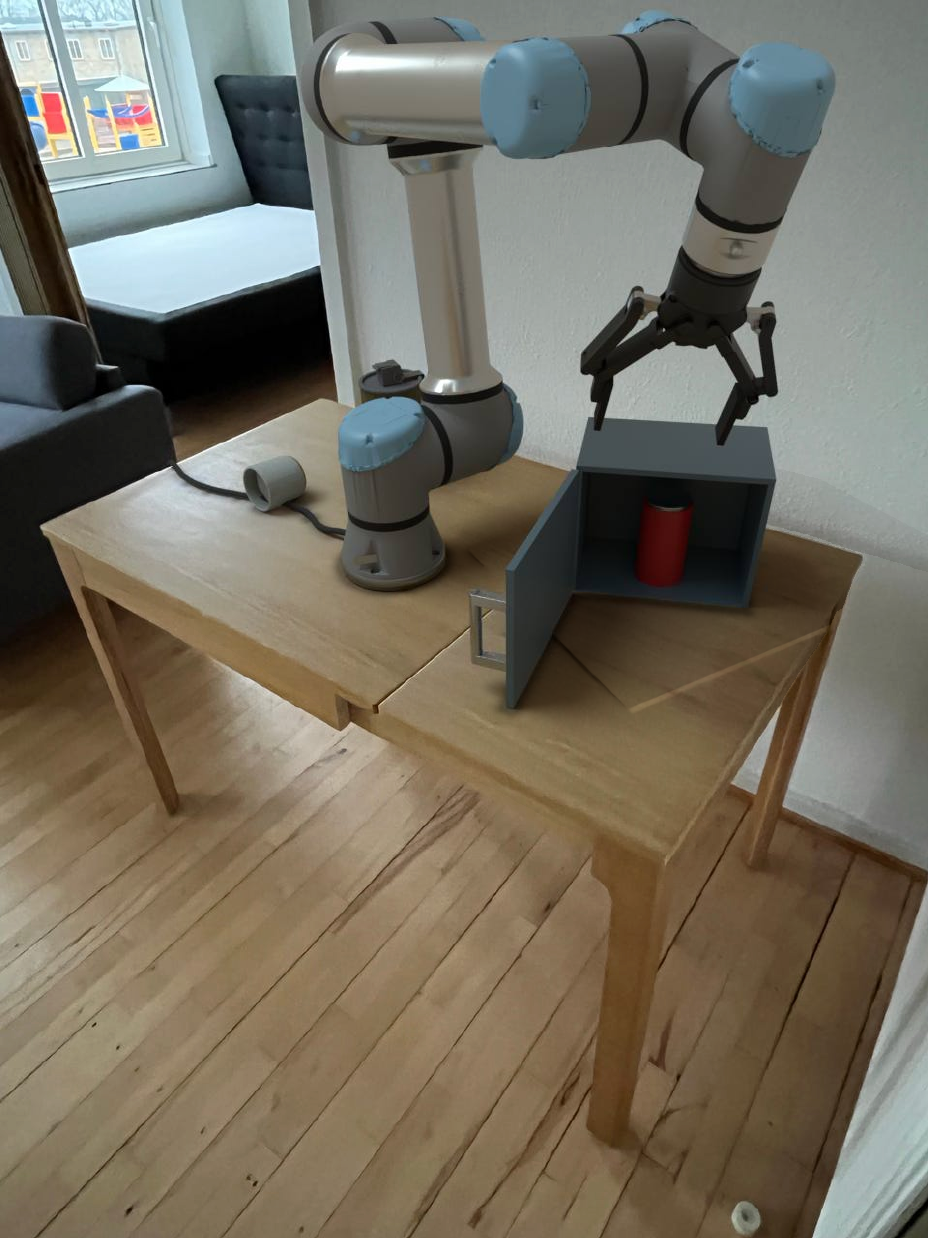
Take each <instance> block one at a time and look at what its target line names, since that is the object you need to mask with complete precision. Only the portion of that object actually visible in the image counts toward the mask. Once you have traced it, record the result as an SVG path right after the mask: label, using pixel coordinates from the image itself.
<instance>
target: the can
mask: <svg viewBox="0 0 928 1238" xmlns="http://www.w3.org/2000/svg"><path fill="white" fill-rule="evenodd" d="M693 506H694V501H693V499H692V497H691V495H690V494H689V493H688V492H687V491H685V490H683V489H680V488H676V487H670V486H662V487H656V488H653V489H650V490H649V491H648V492H647V493H646V495H645V496H644V497H643V501H642V510H641V519H640V528H639V537H638V546H637V554H636V563H635V576H636V578H637V579H638V580H639V581H641V582H642V583H644V584H647V585H650V586H654V587H669V586H673V585H676V584H677V583H679V582H680V581H681V579H682V577H683V570H684V564H685V557H686V551H687V545H688V538H689V532H690V525H691V519H692V513H693Z"/></svg>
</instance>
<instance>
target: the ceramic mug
mask: <svg viewBox="0 0 928 1238" xmlns="http://www.w3.org/2000/svg"><path fill="white" fill-rule="evenodd" d="M242 474H243V475H242V481H243V482H242V483H243V484H242V485H243V486H244V491H245V493H247V495H248V497H249V499H248V500H250V502H251V503H252V505H253V506H254V507H255V509H258V511H261V512H269V511H271V510H273V509H276V508H277V507H280V506H281V505H282V504H283V503H285V502H286V501H289V502H291V501H292V500H294V499H297V498H298V497H300V496H301V495H303V494H304V493H305V492H306V488H307V477H306V473H305V470H304V468H303V467H302V465H301V463H300V462H299V461H298V460H297V459H296V458H295V457H293V456H291V455H280V456H277V457H274V458H273V457H272V458H271V459H267V460H264V461H261V462H258V463H255V464H251V465H248V466H246V467H245V468H244V470H243V473H242ZM260 496H264V497H265V498H266V499H267V501H268V502H266V501H264V500H262V499H261V498H260Z"/></svg>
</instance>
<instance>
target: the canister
mask: <svg viewBox="0 0 928 1238" xmlns="http://www.w3.org/2000/svg"><path fill="white" fill-rule="evenodd" d="M371 368H372V369H373V370H372V371H370V372H367V373H365V374H363V375H361V377H360V378H359V379H358V381H357V385H358V387H359V389H360V390H359V391H360V400H361V405H362V404H364V403H366V402H369V401H372V400H375V399H380V398H386V399H390V398H392V397H405V398H410V399H412V400H414V401H416V402H418V403H419V404H421V394H420V387H419V385H420V383H421V381H422V380H423V379H424V378H425V376H426V375H425V373H423V371H421V370H420V369H417V370H416V369H415V370H411V369H408V368H402V366H401V365H400V364H399V363H398V362H397V361H396V360H395V359H394V358H393V359H387V360H385V361H381V362H376V363H374V364H372V366H371Z"/></svg>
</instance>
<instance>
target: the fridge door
mask: <svg viewBox="0 0 928 1238" xmlns="http://www.w3.org/2000/svg"><path fill="white" fill-rule="evenodd" d="M578 483H579V470H576V468H575V469H574V468H573V469H571V470H570V471H569V473H568V474H567V475H566V477H565V478H564V480H563V482H562V483H561V484H560V486H559V487H558V489H557V491H556V492H555V493H554V495H553V497H552V498H551V500H550V501H549V503H548V504H547V505H546V507H545V508H544V510H543V512H542V513H541V515H540V516H539V518H538V519H537V521H536V522H535V523H534V525H533V526H532V528H531V530H530V532H529V533H528V534H527V536H526V537H525V539H524V540H523V542H522V543H521V545H520V546H519V548H518V550H517V551H516V552H515V554H514V555H513V557H512V558H511V560H510V561H509V563H508V564H507V566H506V567H505V593H500V592H495V591H490V590H486V589H480V588H476V587H474V588H470V589H469V590H468V617H469V640H470V642H469V643H470V644H469V645H470V662H471V664H472V665H476V666H479V667H484V668H487V669H491V670H495V671H500V672H504V673H505V707H506V708H510V709H515V707H516V705H517V703H518V701H519V700H520V698H521V696H522V694H523V692H524V690H525V688H526V686H527V684H528V682H529V680H530V678H531V676H532V675H533V673H534V671H535V669H536V667H537V665H538V664H539V662H540V659H541V657H542V655H543V653H544V652H545V649H546V648H547V646H548V644H549V642H550V641H551V638H552V636H553V635H554V633H553V631H554V630H555V628H556V626H557V624H558V622H559V620H560V618H561V616H562V615H563V612H564V611H565V609H566V607H567V605H568V603H569V601H570V600H571V597H572V595H573V590H572V586H573V569H574V552H575V535H576V518H577V501H578ZM483 608H484V609H489V610H494V611H497V612H502V613H505V654H503V653H500V652H495V651H491V650H487V649H484V648H483V647H484V646H483V644H484V643H483Z"/></svg>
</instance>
